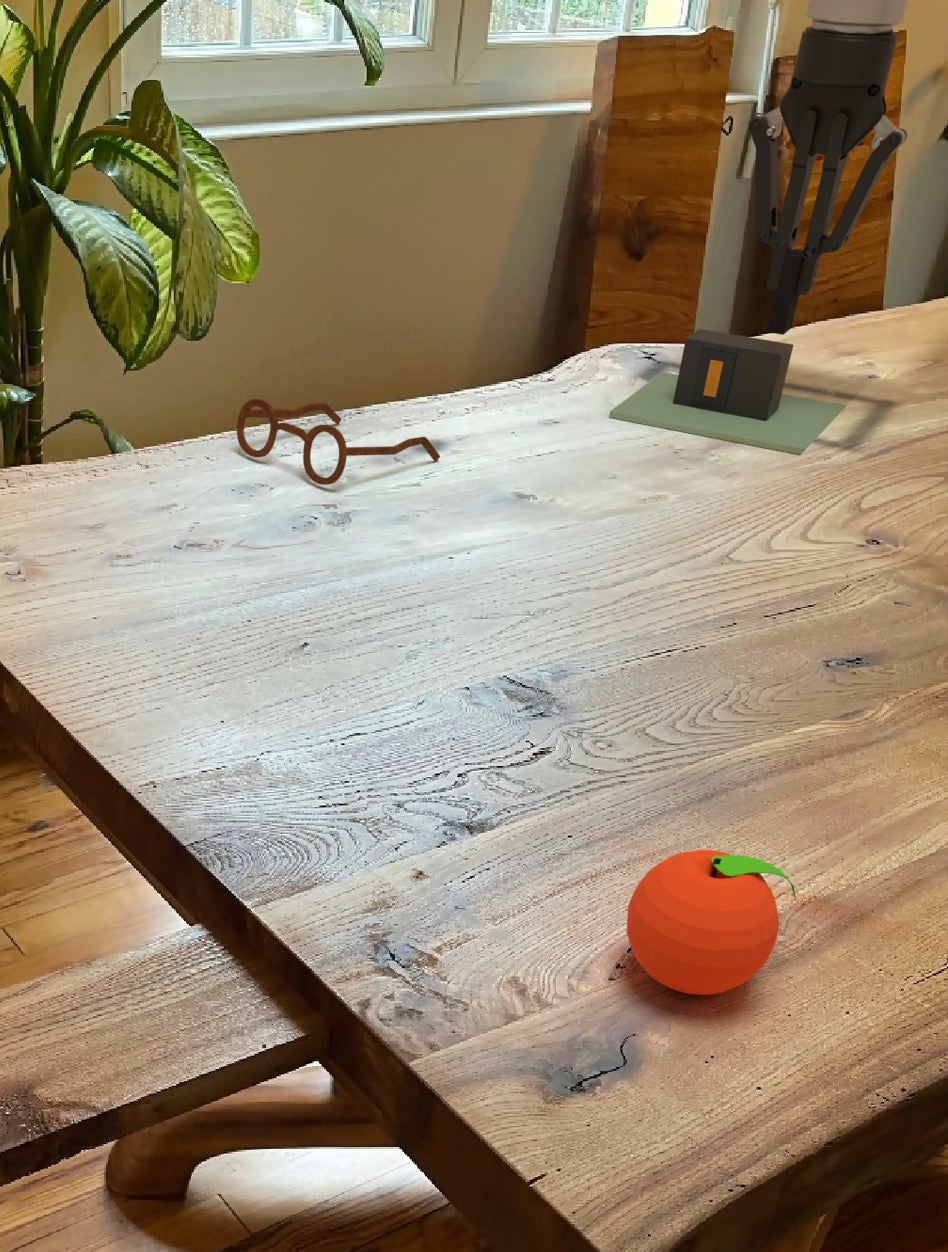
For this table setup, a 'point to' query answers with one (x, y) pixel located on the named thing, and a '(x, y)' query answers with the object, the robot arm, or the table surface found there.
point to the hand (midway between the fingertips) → (779, 329)
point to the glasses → (309, 437)
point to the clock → (732, 374)
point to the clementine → (704, 920)
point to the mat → (730, 418)
